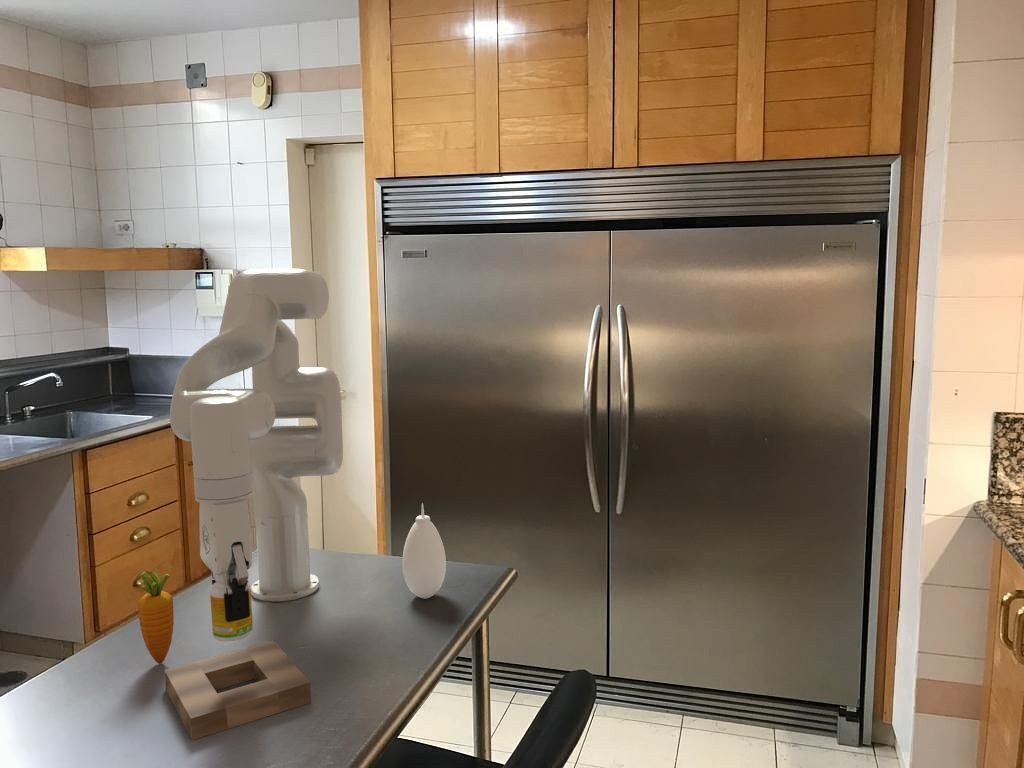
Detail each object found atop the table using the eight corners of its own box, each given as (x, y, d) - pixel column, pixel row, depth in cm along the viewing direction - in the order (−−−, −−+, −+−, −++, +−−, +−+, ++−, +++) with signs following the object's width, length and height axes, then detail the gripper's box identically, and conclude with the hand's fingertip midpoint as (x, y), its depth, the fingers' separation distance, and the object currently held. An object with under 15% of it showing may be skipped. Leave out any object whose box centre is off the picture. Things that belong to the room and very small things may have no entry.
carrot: (184, 658, 128) (177, 567, 126) (161, 673, 124) (154, 578, 122) (159, 654, 130) (152, 564, 128) (135, 668, 125) (127, 575, 123)
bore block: (165, 689, 119) (164, 670, 118) (274, 659, 128) (273, 640, 127) (192, 740, 106) (190, 718, 105) (311, 702, 115) (310, 682, 114)
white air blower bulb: (454, 593, 153) (452, 500, 150) (428, 608, 146) (425, 511, 144) (422, 585, 157) (419, 494, 154) (395, 599, 150) (391, 504, 148)
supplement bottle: (240, 644, 112) (236, 576, 111) (205, 641, 113) (200, 573, 112) (260, 627, 117) (256, 562, 116) (226, 624, 118) (221, 560, 117)
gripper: (180, 478, 117) (189, 599, 120) (211, 504, 103) (220, 640, 106) (233, 471, 122) (240, 587, 124) (270, 495, 108) (277, 626, 110)
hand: (231, 610), depth 115 cm, fingers closed on supplement bottle, 5 cm apart
